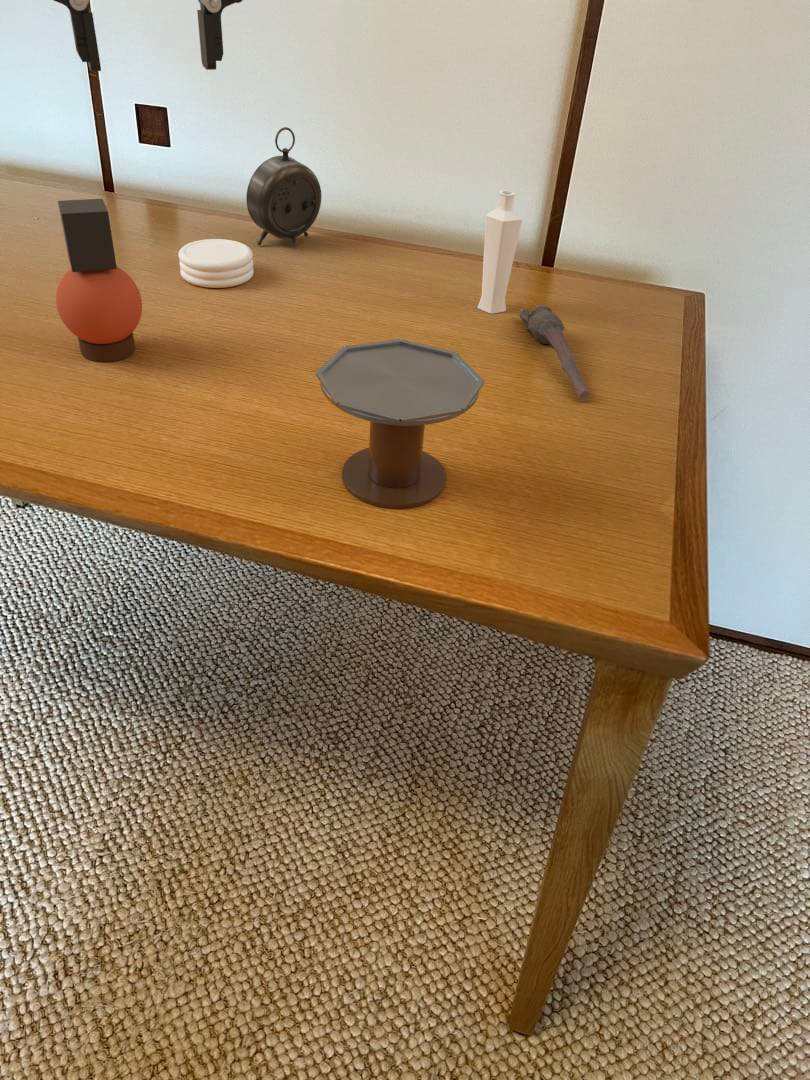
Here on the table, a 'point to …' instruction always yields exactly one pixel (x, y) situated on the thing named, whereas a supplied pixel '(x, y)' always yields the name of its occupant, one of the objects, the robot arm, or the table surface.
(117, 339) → the ball
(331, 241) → the table surface
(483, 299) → the perfume bottle
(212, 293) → the table surface
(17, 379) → the table surface
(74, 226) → the block
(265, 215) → the alarm clock
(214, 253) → the coaster
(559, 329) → the natural artifact
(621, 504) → the table surface
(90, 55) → the robot arm
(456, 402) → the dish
